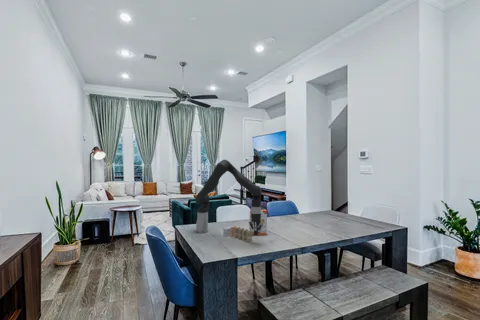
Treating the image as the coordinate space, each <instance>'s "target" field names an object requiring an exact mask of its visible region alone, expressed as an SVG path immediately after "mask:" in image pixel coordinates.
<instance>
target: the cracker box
mask: <svg viewBox="0 0 480 320" xmlns="http://www.w3.org/2000/svg"><path fill="white" fill-rule="evenodd" d="M260 221H261V224H263V226H262V228H261V229H260V230H258V235H257V236H267V233H268V232H267V229H268V226H267V225H268V210H267V209H261V219H260ZM249 222H251V209H249ZM248 224H249V223H248ZM252 227H253V226H252ZM250 230H252V237H253V236H254V230H253V229H252V228H251V226H250V224H249V229H248V231H250Z"/></svg>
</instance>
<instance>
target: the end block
mask: <svg viewBox="0 0 480 320" xmlns="http://www.w3.org/2000/svg"><path fill="white" fill-rule="evenodd" d="M231 227H232V226H229V227H224V228H223V229H222V231H223V232H222V233H223V234H222V236H223V237H226V238H227V237H230V228H231Z"/></svg>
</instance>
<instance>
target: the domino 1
mask: <svg viewBox="0 0 480 320" xmlns="http://www.w3.org/2000/svg"><path fill="white" fill-rule="evenodd" d="M230 227H231V228H230V236H229V237H230V238H234V228H237V226H235V225H234V226H230Z"/></svg>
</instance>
